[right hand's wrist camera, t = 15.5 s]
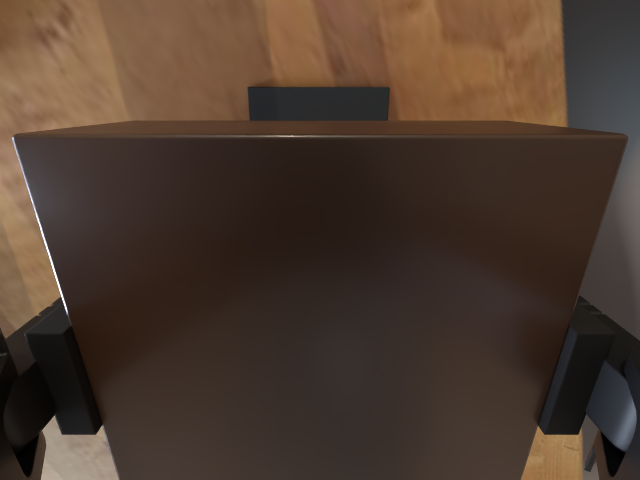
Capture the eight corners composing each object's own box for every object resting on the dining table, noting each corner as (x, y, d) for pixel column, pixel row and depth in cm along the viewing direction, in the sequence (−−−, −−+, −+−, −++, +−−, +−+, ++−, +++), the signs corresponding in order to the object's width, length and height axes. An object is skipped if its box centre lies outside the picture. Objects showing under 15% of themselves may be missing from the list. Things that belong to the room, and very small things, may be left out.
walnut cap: (185, 404, 13) (131, 525, 9) (131, 120, 9) (7, 134, 6) (454, 404, 13) (507, 525, 9) (507, 120, 9) (632, 134, 6)
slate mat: (257, 220, 37) (257, 221, 37) (248, 87, 32) (247, 87, 32) (379, 220, 37) (380, 221, 37) (388, 87, 33) (389, 87, 32)
